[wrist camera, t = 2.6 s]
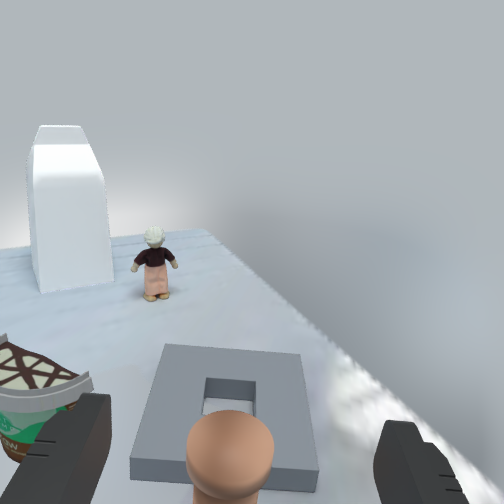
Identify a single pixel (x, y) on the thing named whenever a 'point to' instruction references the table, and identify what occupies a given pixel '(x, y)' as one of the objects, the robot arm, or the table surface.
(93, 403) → the robot arm
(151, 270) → the grandmother figurine
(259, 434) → the headed peg
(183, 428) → the socket block
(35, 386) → the food container
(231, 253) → the table surface
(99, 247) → the milk
